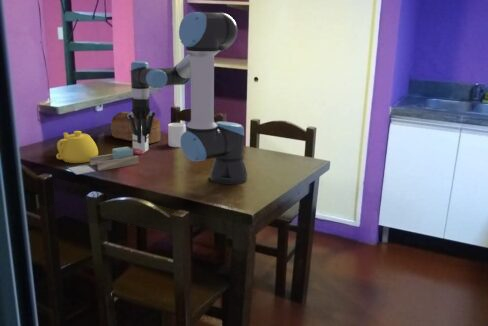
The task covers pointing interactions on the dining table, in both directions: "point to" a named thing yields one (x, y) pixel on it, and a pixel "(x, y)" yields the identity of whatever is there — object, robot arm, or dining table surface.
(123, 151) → the block
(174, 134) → the mug
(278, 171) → the dining table surface
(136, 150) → the ink box
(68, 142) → the teapot
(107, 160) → the chute
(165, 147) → the dining table surface
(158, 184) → the dining table surface
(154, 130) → the bread
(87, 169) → the pad
